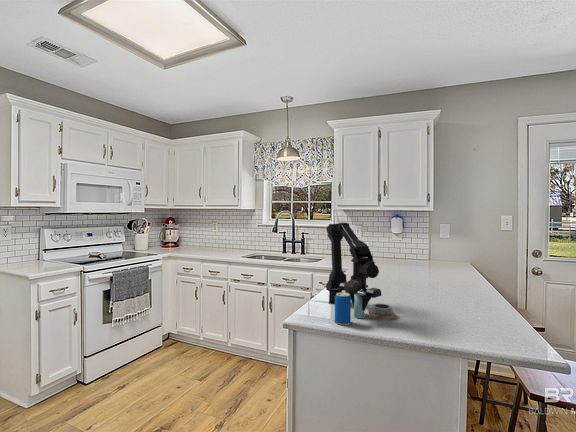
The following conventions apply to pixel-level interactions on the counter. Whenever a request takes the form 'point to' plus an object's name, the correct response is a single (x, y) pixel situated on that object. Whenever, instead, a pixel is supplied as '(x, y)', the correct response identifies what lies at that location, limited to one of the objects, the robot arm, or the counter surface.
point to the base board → (371, 315)
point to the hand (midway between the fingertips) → (359, 308)
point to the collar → (382, 309)
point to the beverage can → (342, 308)
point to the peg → (358, 306)
